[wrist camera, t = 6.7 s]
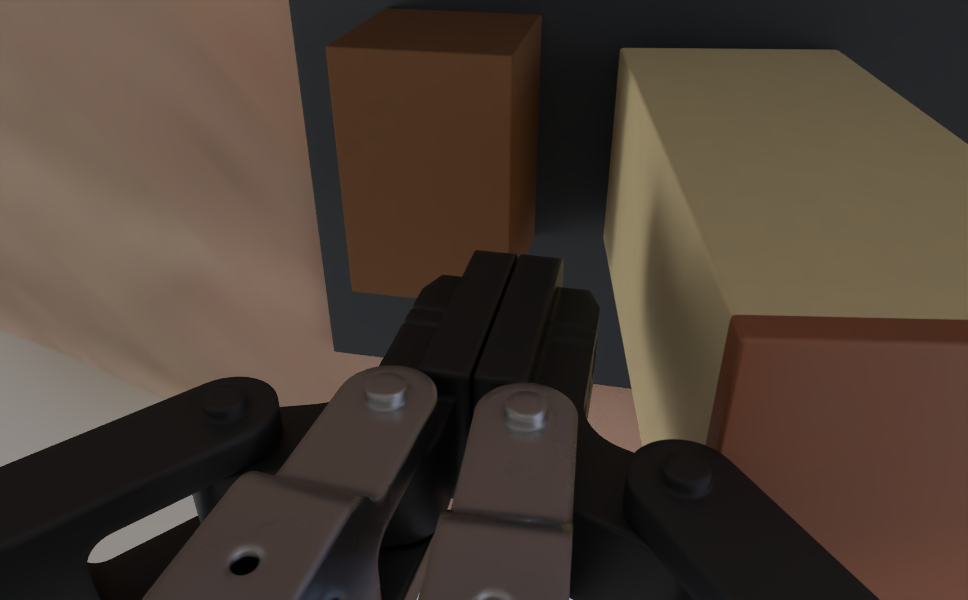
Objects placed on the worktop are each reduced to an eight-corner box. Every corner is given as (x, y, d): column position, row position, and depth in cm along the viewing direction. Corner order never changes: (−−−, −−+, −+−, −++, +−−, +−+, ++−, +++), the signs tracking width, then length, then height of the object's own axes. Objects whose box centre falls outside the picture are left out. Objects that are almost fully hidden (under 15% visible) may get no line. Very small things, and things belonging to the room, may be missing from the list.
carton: (422, 276, 19) (785, 803, 9) (412, 69, 16) (915, 477, 6) (741, 212, 22) (1285, 546, 12) (776, 29, 19) (1515, 255, 9)
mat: (338, 345, 26) (282, 430, 22) (251, -343, 17) (131, -391, 13) (1103, 439, 22) (1189, 563, 18) (1570, -405, 12) (1944, -501, 9)
